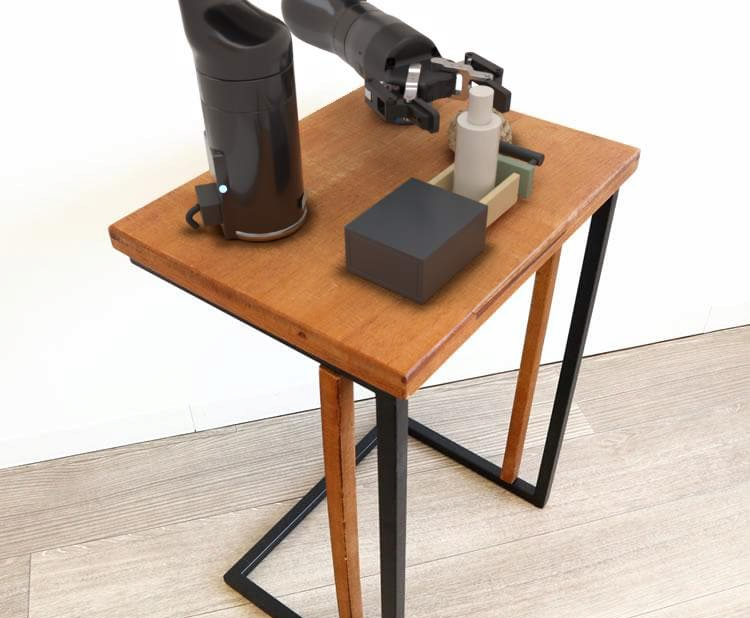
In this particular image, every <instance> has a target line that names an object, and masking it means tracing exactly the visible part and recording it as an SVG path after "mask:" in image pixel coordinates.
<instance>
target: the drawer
mask: <svg viewBox="0 0 750 618" xmlns="http://www.w3.org/2000/svg"><path fill="white" fill-rule="evenodd" d="M498 153H500V154H498V162H497V172H496V182H495V189H493V190H492V191H491V192H490V193H489V194H487V195H486V196H485V197H484V198H483V199H481V200H480V201H479V202H480V203H483V204H486V205H488V215H487V226H486V229H488V227H489V226H491V225H492V224H493V223H494V222H495V221H496V220H497V219H499V218H500V216H502V215H503V214H505V213H506V212H507V211H508V210H509V209H510V208H511V207H513V206H514V205H515V204H516V203H517V202H518V198H519V199H523V200H525V201H527V200H528V199H529V198H530V197H532V192H533V185H534V177H535V172H536V171H535V170H536V167H540V168H541V167H542V166H543V164H544V162H545V159H546V156H545V154H544V153H542V152H538V151H536V150H534V149H533V150H532V149H530V148H526V147H523V146H521V145H516V144H514V143H512V144H511V143H508V142H505V141H502V140H500V142H499V152H498ZM453 178H454V162H452V164H450V165H449V166H448V167H446V168H445V169H444V170H442V172H440V173H438V174H437V175H436V176H434V177H433V178H431V180H429V181H428V182H427V183H429V184H432V185H435V186H437V187H440V188H443V189H445V190H448V191H451V192H453Z"/></svg>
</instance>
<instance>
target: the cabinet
mask: <svg viewBox="0 0 750 618" xmlns="http://www.w3.org/2000/svg"><path fill="white" fill-rule="evenodd" d="M487 215H488V205H486V204H483V203H480V202H477V201H475V200H472V199H469V198H467V197H464V196H461V195H459V194H456V193H453V192H451V191H448V190H445V189H443V188H440V187H437V186H435V185H432V184H429V183H428V182H426V181H424V180H420V179H418V178H416V177H413V176H411V177H410V178H408V179H407V180H406V181H403V183H402V184H400V185H398V186H397V187H396V188H394V189H393V190H392V191H390V192H389V193H388V194H386V195H385V196H383V198H381V199H379V200H378V201H377V202H375V203H374V204H373V205H371V206H370V207H369V208H367V209H366V210H364V211H363V212H362V213H360V214H359V215H358V216H356V217H355V218H354V219H352V220H351V221H349V222H348V223H347V224H345V225H344V226H343V231H344V253H345V254H344V256H345V271H347V272H349V273H350V274H353V275H355V276H358V277H359V278H362V279H364V280H366V281H368V282H371V283H373V284H374V285H377V286H380V287H381V288H384V289H386V290H389V291H391V292H392V293H394V294H398V295H400V296H402V297H403V298H406V299H408V300H411V301H413V302H415V303H416V304H420V305H423V304H425V303H426V302H427V301H428V300H429V299H430V298H431V297H433V296H434V295H435V294H436V293H437V292H438V291H439V290H441V289H442V287H444V286H445V285H446V284H447V283H448V282H449V281H451V279H453V278H454V277H455V276H456V275H457V274H458V273H459V272H460V271H462V270H463V269H464V268H465V267H466V266H468V264H469V263H471V262H472V261H473V260H474V259H475V258H476V257H478V256H479V254H481V253H482V252H483V251H484V250H485V246H486V244H485V243H486V236H487V228H486V226H487Z"/></svg>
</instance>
